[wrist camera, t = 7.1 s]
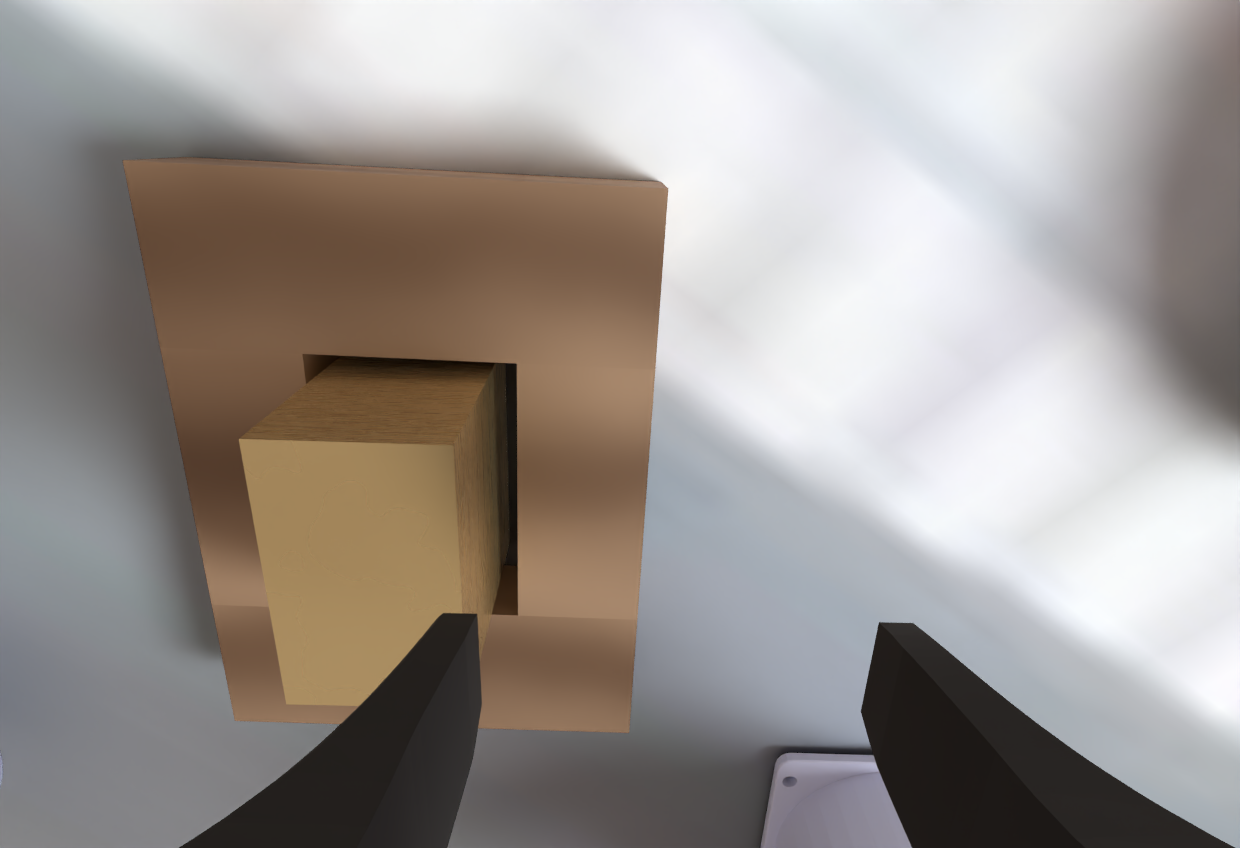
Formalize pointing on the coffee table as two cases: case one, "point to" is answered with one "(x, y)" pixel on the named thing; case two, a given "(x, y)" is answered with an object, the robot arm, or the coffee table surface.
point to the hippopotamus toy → (1, 768)
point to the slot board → (434, 330)
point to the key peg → (377, 515)
